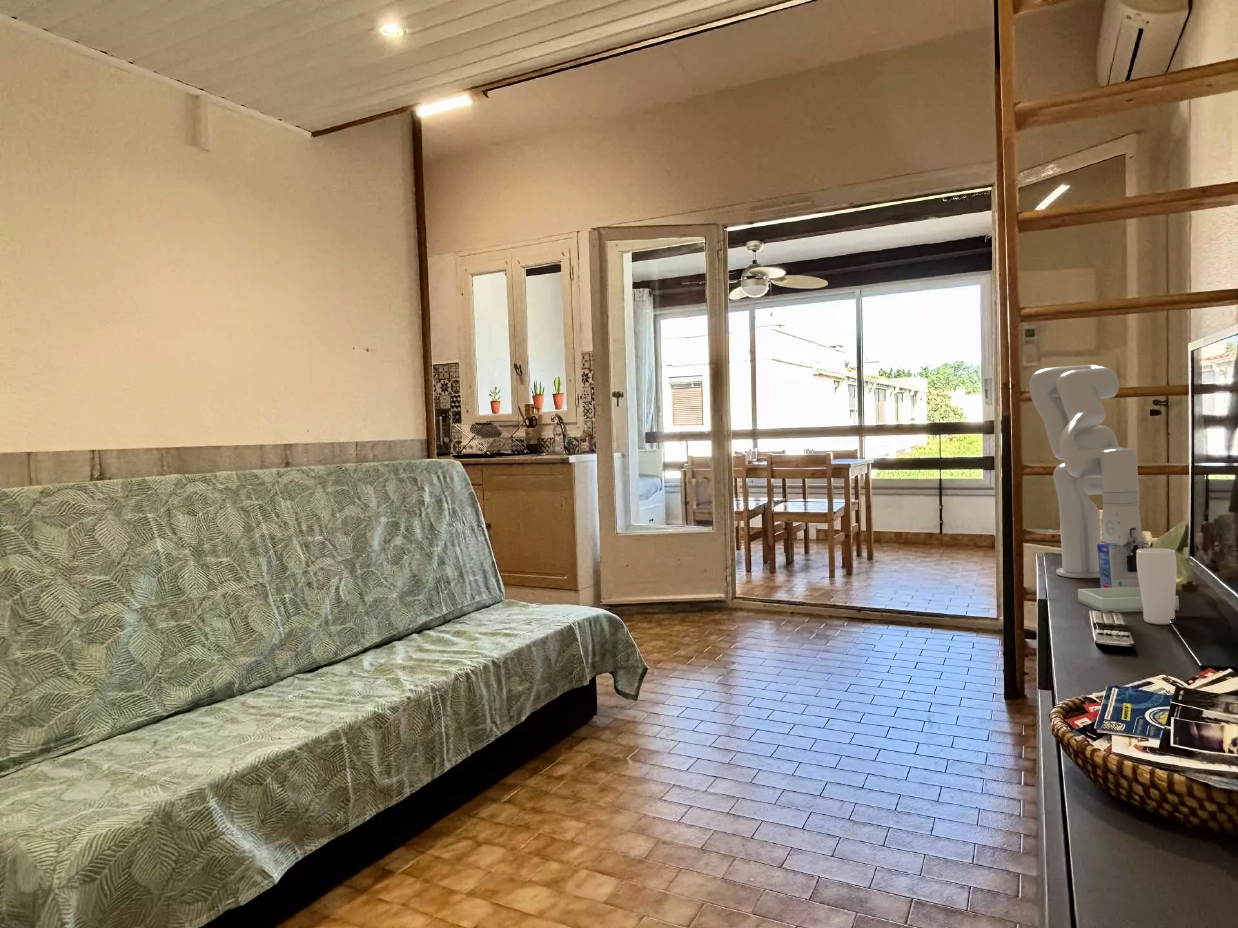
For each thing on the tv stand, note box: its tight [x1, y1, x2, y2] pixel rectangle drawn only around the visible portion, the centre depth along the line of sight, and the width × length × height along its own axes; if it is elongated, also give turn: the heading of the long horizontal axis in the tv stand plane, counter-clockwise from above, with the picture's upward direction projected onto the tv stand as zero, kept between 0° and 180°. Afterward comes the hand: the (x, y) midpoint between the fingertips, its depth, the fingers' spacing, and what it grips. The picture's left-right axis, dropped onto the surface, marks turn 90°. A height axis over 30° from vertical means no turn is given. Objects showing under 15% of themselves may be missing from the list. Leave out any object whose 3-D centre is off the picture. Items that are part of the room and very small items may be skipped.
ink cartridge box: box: [1097, 542, 1150, 588], centre depth 187 cm, size 10×6×14 cm, turn 89°
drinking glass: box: [1136, 547, 1178, 626], centre depth 159 cm, size 7×7×15 cm
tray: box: [1077, 587, 1180, 613], centre depth 174 cm, size 12×16×3 cm
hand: (1124, 568), depth 187 cm, fingers open, 9 cm apart
